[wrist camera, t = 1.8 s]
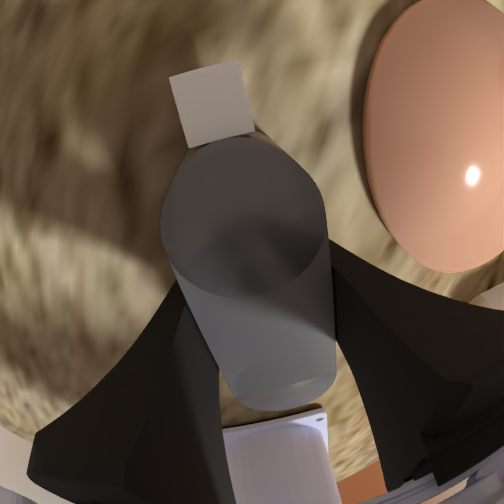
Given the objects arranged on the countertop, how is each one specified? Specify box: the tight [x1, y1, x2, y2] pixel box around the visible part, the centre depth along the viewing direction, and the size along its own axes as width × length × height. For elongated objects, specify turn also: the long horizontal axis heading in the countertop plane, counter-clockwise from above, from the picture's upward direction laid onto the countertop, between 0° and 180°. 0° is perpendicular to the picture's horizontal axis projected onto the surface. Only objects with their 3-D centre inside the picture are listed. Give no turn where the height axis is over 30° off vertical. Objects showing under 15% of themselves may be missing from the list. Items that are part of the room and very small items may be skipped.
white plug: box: [469, 282, 504, 310], centre depth 14 cm, size 9×3×3 cm, turn 102°
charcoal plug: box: [160, 59, 336, 411], centre depth 9 cm, size 11×4×4 cm, turn 13°
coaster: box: [362, 0, 504, 273], centre depth 9 cm, size 13×13×1 cm
